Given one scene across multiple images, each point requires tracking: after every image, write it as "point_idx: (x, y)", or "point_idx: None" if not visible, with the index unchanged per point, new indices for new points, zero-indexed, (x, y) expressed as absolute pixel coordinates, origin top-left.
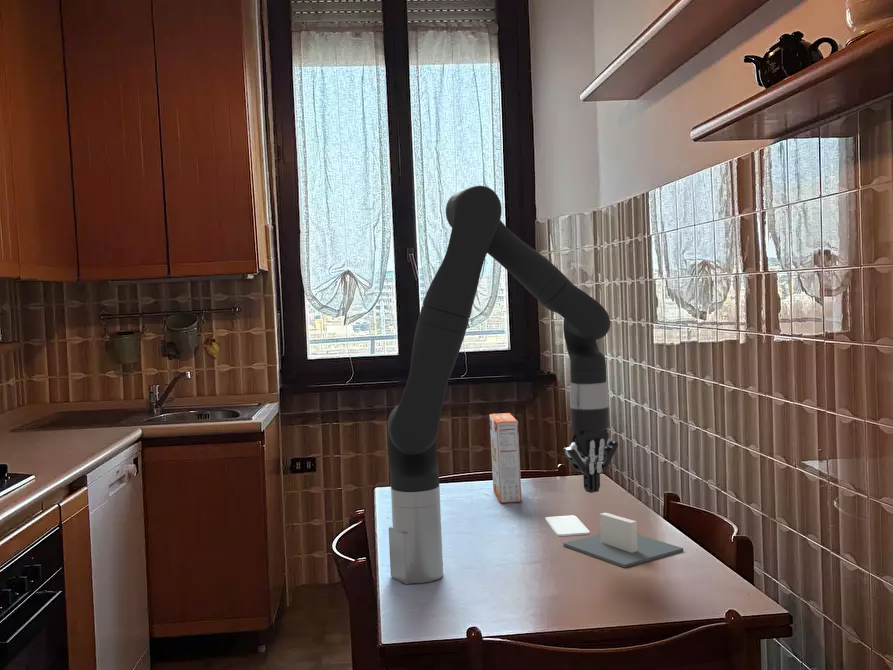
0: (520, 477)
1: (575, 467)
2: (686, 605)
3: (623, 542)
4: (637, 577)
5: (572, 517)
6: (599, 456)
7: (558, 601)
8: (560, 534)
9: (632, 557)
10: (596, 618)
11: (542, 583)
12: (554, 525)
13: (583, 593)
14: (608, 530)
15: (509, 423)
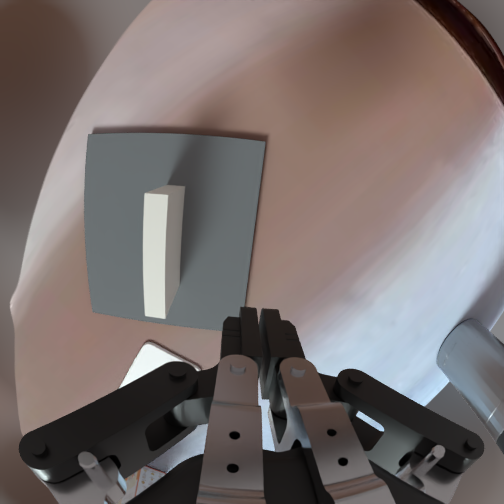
0: (135, 489)
1: (356, 418)
2: None
3: (179, 216)
4: (294, 87)
5: None
6: (256, 429)
7: (456, 138)
8: (198, 369)
9: (211, 161)
10: (456, 65)
11: (424, 208)
12: None
13: (418, 123)
14: (173, 273)
15: None
